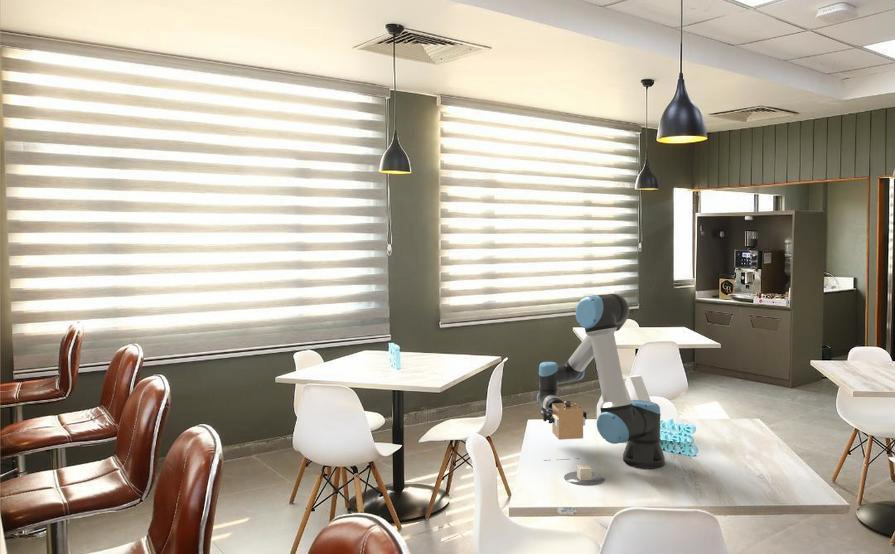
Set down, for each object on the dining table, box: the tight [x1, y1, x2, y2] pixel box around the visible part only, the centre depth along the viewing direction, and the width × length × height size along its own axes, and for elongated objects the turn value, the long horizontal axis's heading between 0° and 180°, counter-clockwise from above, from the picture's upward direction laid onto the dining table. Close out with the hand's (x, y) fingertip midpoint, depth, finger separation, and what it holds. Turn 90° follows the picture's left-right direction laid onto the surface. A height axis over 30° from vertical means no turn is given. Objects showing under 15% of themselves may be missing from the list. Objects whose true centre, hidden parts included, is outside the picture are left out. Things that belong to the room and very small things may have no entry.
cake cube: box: [576, 464, 593, 481], centre depth 236 cm, size 4×4×4 cm
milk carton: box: [596, 374, 652, 444], centre depth 289 cm, size 19×15×25 cm
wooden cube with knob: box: [551, 400, 584, 440], centre depth 248 cm, size 9×9×13 cm
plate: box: [563, 470, 606, 487], centre depth 236 cm, size 14×14×1 cm
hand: (571, 422), depth 243 cm, fingers closed on wooden cube with knob, 9 cm apart
